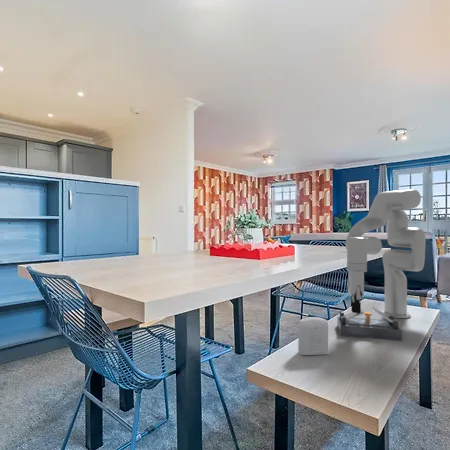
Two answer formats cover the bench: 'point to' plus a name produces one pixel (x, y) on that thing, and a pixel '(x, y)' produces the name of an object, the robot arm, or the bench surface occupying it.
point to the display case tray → (369, 327)
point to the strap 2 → (383, 315)
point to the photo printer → (313, 336)
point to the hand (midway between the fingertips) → (355, 312)
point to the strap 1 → (352, 315)
